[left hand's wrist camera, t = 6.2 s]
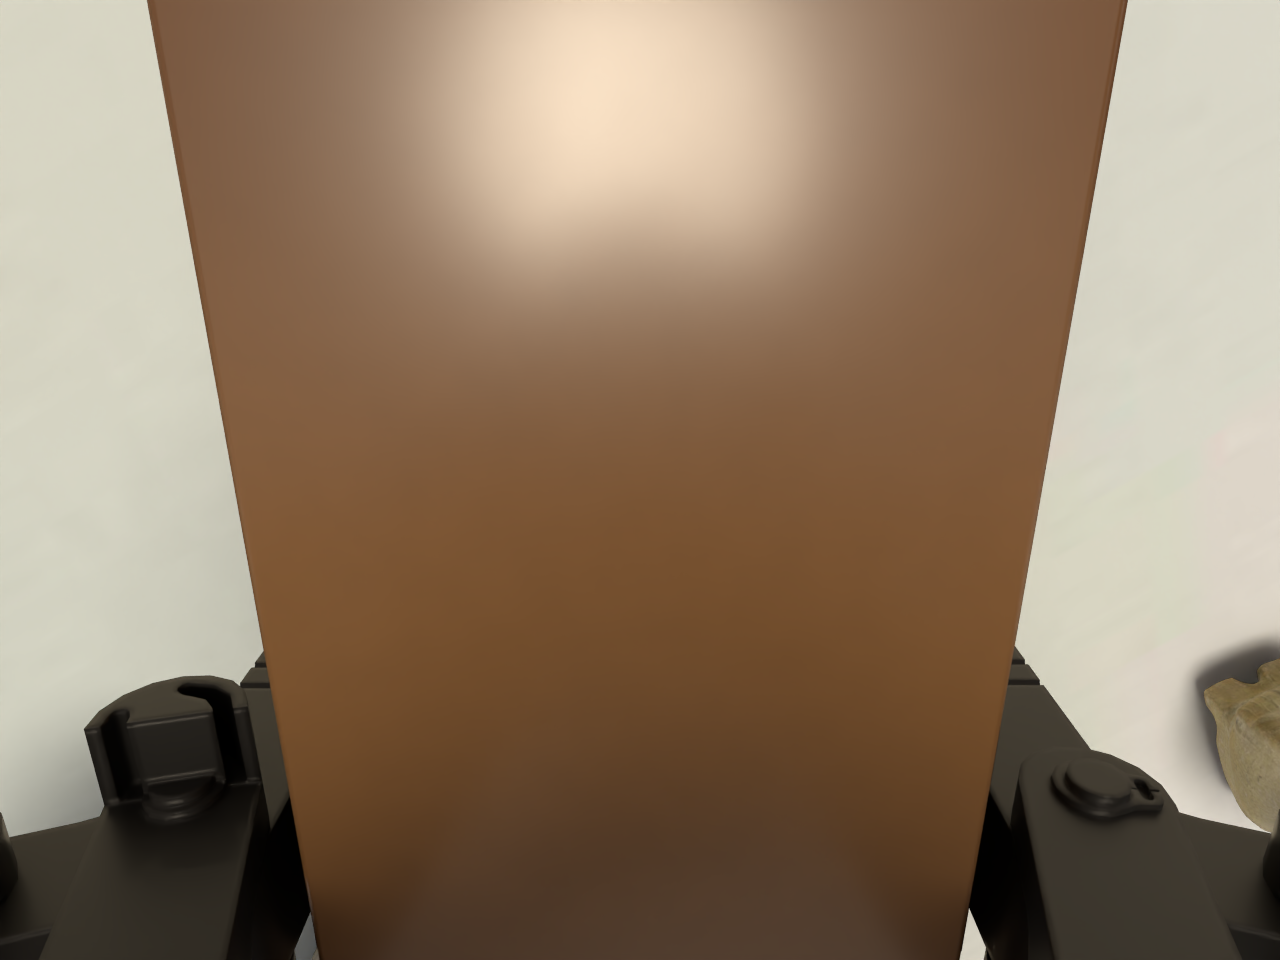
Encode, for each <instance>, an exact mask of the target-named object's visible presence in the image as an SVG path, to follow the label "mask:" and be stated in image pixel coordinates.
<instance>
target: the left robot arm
mask: <svg viewBox="0 0 1280 960" xmlns="http://www.w3.org/2000/svg"><path fill="white" fill-rule="evenodd" d="M84 731H85V735H86V739H87V742H88V746H89V750H90V754H91V757H92V761H93V765H94V768H95V772H96V776H97V780H98V783H99V787H100V791H101V794H102V798H103V802H104V805H105V806H104V808H103V810H102V813H101V815H100V817H96V818H93V819H89V820H86V821H82V822H79V823H74V824H69V825H65V826H60V827H55V828H51V829H46V830H42V831H37V832H32V833H28V834H23V835H18V836H14V837H9V835H8V832H7V829H6V826H5V823H4V820H3V817H2V813H0V960H296V956H295V951H294V949H295V947H296V945H297V942H298V940H299V937H300V935H301V933H302V930H303V928H304V926H305V923H306V921H307V919H308V916H309V914H310V912H311V911H310V905H309V900H308V894H307V888H306V883H305V877H304V872H303V866H302V861H301V855H300V849H299V844H298V838H297V833H296V827H295V822H294V816H293V810H292V805H291V799H290V794H289V788H288V783H287V777H286V771H285V766H284V760H283V755H282V749H281V744H280V738H279V732H278V727H277V721H276V716H275V710H274V705H273V699H272V694H271V688H270V682H269V677H268V671H267V666H266V660H265V655H264V651H263V653H262V654H261V655H260V657H259V658H258V659H257V661H256V662H255V668H251V669H250V670H249V672H248V673H247V675H246V676H245V677H244V679H243V680H242V681H241V683H240V686H239V685H238V684H236V683H235V682H234V681H232V680H228V679H224V678H219V677H215V676H183V677H178V678H174V679H169V680H165V681H160V682H156V683H152V684H150V685H147V686H145V687H142V688H140V689H137V690H135V691H132V692H130V693H128V694H125V695H123V696H121V697H120V698H118V699H117V700H115V701H114V702H112V703H111V704H109V705H108V706H106V707H105V708H103V709H102V710H100V711H99V712H98V713H97V714H96V715H95V717H94V718H93V719H92V720H91V721H90V723H89V724H88V725H87V726H86V727H85V728H84ZM969 909H970V911H971V913H972V916H973V918H974V920H975V923H976V925H977V927H978V930H979V932H980V934H981V937H982V939H983V941H984V944H985V946H986V951H985V956H984V960H1280V809H1279V811H1278V814H1277V817H1276V820H1275V823H1274V826H1273V829H1272V833H1271V834H1270V833H1266V832H1261V831H1256V830H1252V829H1247V828H1242V827H1238V826H1233V825H1228V824H1224V823H1219V822H1214V821H1210V820H1205V819H1201V818H1197V817H1194V816H1190V815H1186V814H1183V813H1179V811H1178V809H1177V807H1176V804H1175V803H1174V802H1173V800H1172V799H1171V797H1170V796H1169V795H1168V793H1167V792H1166V790H1165V789H1164V788H1163V786H1162V785H1161V784H1159V783H1158V782H1157V781H1156V780H1154V779H1153V778H1152V777H1150V776H1149V775H1148V774H1146V773H1145V772H1144V771H1142V770H1141V769H1140V768H1138V767H1136V766H1134V765H1132V764H1130V763H1127V762H1125V761H1123V760H1121V759H1119V758H1117V757H1115V756H1112V755H1110V754H1106V753H1102V752H1098V751H1094V750H1091V749H1090V748H1089V746H1088V745H1087V744H1086V742H1085V741H1084V740H1083V738H1082V737H1081V736H1080V734H1079V733H1078V731H1077V730H1076V729H1075V727H1074V726H1073V725H1072V723H1071V722H1070V721H1069V719H1068V718H1067V717H1066V715H1065V714H1064V712H1063V711H1062V710H1061V708H1060V707H1059V706H1058V704H1057V703H1056V702H1055V700H1054V699H1053V697H1052V696H1051V695H1050V693H1049V692H1048V691H1047V689H1046V688H1045V687H1044V685H1040V680H1039V678H1038V677H1037V676H1036V674H1035V673H1034V672H1033V670H1032V669H1031V667H1030V666H1029V665H1025V659H1024V658H1023V657H1022V655H1021V654H1020V653H1019V651H1018V650H1017V648H1016V647H1015V646H1014V652H1013V657H1012V663H1011V669H1010V675H1009V680H1008V686H1007V692H1006V697H1005V703H1004V709H1003V714H1002V720H1001V726H1000V732H999V737H998V743H997V749H996V754H995V760H994V766H993V771H992V777H991V783H990V789H989V794H988V800H987V806H986V811H985V817H984V823H983V828H982V834H981V840H980V845H979V851H978V857H977V863H976V868H975V874H974V880H973V885H972V891H971V897H970V902H969V908H968V911H969ZM967 917H968V914H967ZM966 922H967V920H966ZM965 928H966V925H965ZM964 934H965V931H964ZM963 940H964V937H963ZM962 945H963V942H962ZM961 951H962V948H961ZM312 960H319V955H318V950H317V949H316V951H315V952H314V955H313V957H312Z"/></svg>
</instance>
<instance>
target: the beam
mask: <svg viewBox="0 0 1280 960" xmlns="http://www.w3.org/2000/svg"><path fill="white" fill-rule="evenodd" d="M1127 2H1128V0H147V3H148V9H149V14H150V20H151V25H152V31H153V36H154V42H155V48H156V53H157V59H158V64H159V70H160V75H161V81H162V87H163V92H164V98H165V103H166V109H167V114H168V120H169V126H170V131H171V137H172V142H173V148H174V153H175V159H176V165H177V170H178V176H179V181H180V187H181V192H182V198H183V204H184V209H185V215H186V220H187V226H188V231H189V237H190V242H191V248H192V254H193V259H194V265H195V270H196V276H197V281H198V287H199V293H200V298H201V304H202V309H203V315H204V320H205V326H206V332H207V337H208V343H209V348H210V354H211V359H212V365H213V371H214V376H215V382H216V387H217V393H218V398H219V404H220V410H221V415H222V421H223V426H224V432H225V437H226V443H227V449H228V454H229V460H230V465H231V471H232V476H233V482H234V487H235V493H236V499H237V504H238V510H239V515H240V521H241V526H242V532H243V538H244V543H245V549H246V554H247V560H248V565H249V571H250V577H251V582H252V588H253V593H254V599H255V604H256V610H257V616H258V621H259V627H260V632H261V638H262V643H263V649H264V655H265V660H266V666H267V671H268V677H269V682H270V688H271V694H272V699H273V705H274V710H275V716H276V721H277V727H278V732H279V738H280V744H281V749H282V755H283V760H284V766H285V771H286V777H287V783H288V788H289V794H290V799H291V805H292V810H293V816H294V822H295V827H296V833H297V838H298V844H299V849H300V855H301V861H302V866H303V872H304V877H305V883H306V888H307V894H308V900H309V905H310V911H311V916H312V922H313V927H314V933H315V939H316V944H317V950H318V955H319V960H959V959H960V954H961V948H962V942H963V937H964V931H965V925H966V920H967V914H968V908H969V902H970V897H971V891H972V885H973V880H974V874H975V868H976V863H977V857H978V851H979V845H980V840H981V834H982V828H983V823H984V817H985V811H986V806H987V800H988V794H989V789H990V783H991V777H992V771H993V766H994V760H995V754H996V749H997V743H998V737H999V732H1000V726H1001V720H1002V714H1003V709H1004V703H1005V697H1006V692H1007V686H1008V680H1009V675H1010V669H1011V663H1012V657H1013V652H1014V646H1015V640H1016V635H1017V629H1018V623H1019V618H1020V612H1021V606H1022V600H1023V595H1024V589H1025V583H1026V578H1027V572H1028V566H1029V561H1030V555H1031V549H1032V543H1033V538H1034V532H1035V526H1036V521H1037V515H1038V509H1039V504H1040V498H1041V492H1042V486H1043V481H1044V475H1045V469H1046V464H1047V458H1048V452H1049V447H1050V441H1051V435H1052V429H1053V424H1054V418H1055V412H1056V407H1057V401H1058V395H1059V390H1060V384H1061V378H1062V372H1063V367H1064V361H1065V355H1066V350H1067V344H1068V338H1069V333H1070V327H1071V321H1072V316H1073V310H1074V304H1075V298H1076V293H1077V287H1078V281H1079V276H1080V270H1081V264H1082V259H1083V253H1084V247H1085V241H1086V236H1087V230H1088V224H1089V219H1090V213H1091V207H1092V202H1093V196H1094V190H1095V184H1096V179H1097V173H1098V167H1099V162H1100V156H1101V150H1102V145H1103V139H1104V133H1105V127H1106V122H1107V116H1108V110H1109V105H1110V99H1111V93H1112V88H1113V82H1114V76H1115V70H1116V65H1117V59H1118V53H1119V48H1120V42H1121V36H1122V31H1123V25H1124V19H1125V13H1126V8H1127Z"/></svg>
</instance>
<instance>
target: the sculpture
mask: <svg viewBox="0 0 1280 960" xmlns="http://www.w3.org/2000/svg"><path fill="white" fill-rule="evenodd" d="M1257 677H1258V680H1259V682H1257V683H1255V684H1247V683H1243V682H1241V681H1238V680H1236V679H1234V678H1228V679H1226V680H1223V681H1221V682H1218V683H1216V684H1214V685H1213V686H1211V687H1209V688H1208V689H1206V690H1205V691H1204V699H1205V703H1206V706H1207V707H1208V709H1209V710H1210V711H1211V712H1212V714H1213V716H1214V718H1215V721H1216V725H1217V736H1216V743H1217V748H1218V753H1219V757H1220V761H1221V764H1222V768H1223V771H1224V775H1225V778H1226V780H1227V782H1228V784H1229V787H1230V789H1231V791H1232V793H1233V795H1234V797H1235V799H1236V801H1237V803H1238V804H1239V806H1240V808H1241V810H1242V811H1243V813H1244V814H1245V815H1246V816H1247V817H1248V818H1249V819H1250V820H1251V821H1252V822H1253V823H1255V824H1256V825H1257V826H1259V827H1260V828H1262V829H1263V830H1265V831H1268V832H1272V829H1273V826H1274V823H1275V820H1276V817H1277V814H1278V811H1279V809H1280V658H1279V659H1277V660H1274V661H1270V662H1267V663H1265V664H1263V665H1261V666H1260V667H1259V668H1258V670H1257Z"/></svg>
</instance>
